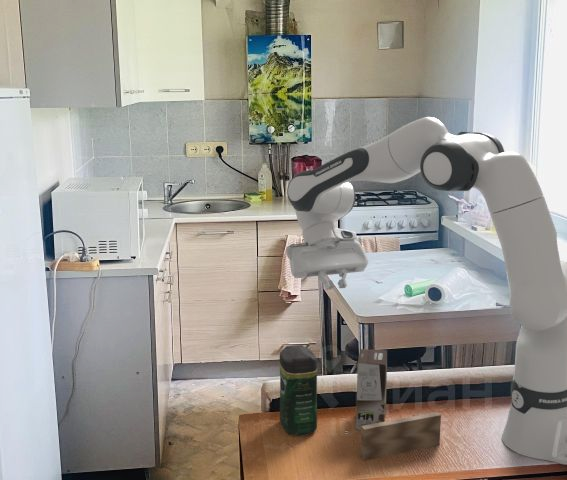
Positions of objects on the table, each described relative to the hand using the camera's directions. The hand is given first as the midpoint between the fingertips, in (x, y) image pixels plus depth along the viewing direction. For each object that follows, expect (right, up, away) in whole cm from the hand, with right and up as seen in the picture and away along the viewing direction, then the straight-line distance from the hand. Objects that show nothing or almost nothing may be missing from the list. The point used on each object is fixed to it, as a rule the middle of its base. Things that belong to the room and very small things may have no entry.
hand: (336, 287), depth 171 cm
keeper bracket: (+11, -32, -24) cm, 42 cm away
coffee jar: (-10, -31, -15) cm, 36 cm away
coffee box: (+7, -30, -13) cm, 33 cm away
